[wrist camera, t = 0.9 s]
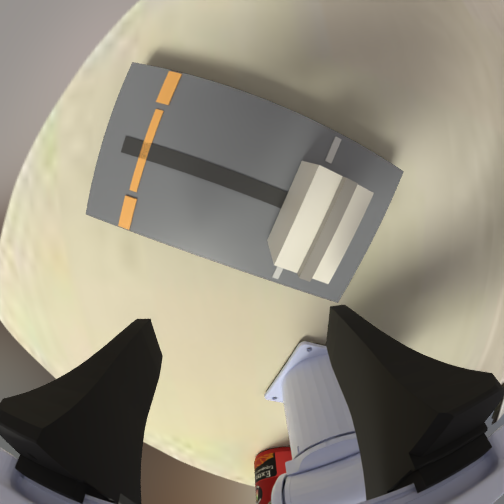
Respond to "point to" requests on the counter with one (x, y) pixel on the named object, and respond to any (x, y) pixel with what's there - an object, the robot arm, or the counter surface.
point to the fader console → (223, 172)
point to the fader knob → (317, 222)
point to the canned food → (269, 471)
